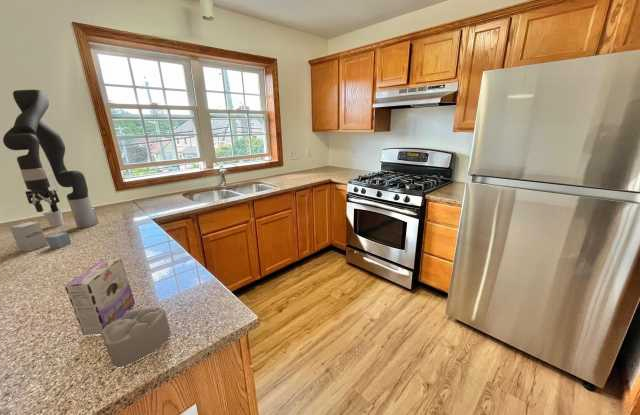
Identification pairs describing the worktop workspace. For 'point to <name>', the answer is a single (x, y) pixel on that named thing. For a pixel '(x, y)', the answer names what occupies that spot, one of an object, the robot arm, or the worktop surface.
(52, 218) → the dixie cup
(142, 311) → the grey lumpy block
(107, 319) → the candy box
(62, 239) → the blue block
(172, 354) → the worktop surface
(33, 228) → the supplement box
